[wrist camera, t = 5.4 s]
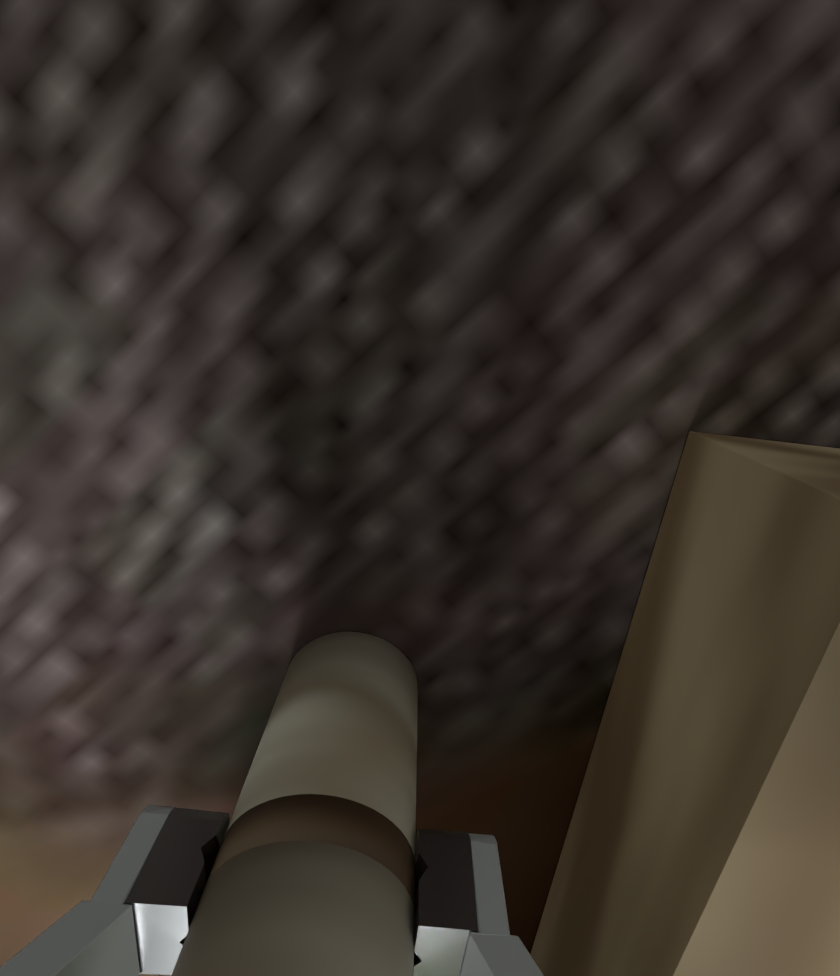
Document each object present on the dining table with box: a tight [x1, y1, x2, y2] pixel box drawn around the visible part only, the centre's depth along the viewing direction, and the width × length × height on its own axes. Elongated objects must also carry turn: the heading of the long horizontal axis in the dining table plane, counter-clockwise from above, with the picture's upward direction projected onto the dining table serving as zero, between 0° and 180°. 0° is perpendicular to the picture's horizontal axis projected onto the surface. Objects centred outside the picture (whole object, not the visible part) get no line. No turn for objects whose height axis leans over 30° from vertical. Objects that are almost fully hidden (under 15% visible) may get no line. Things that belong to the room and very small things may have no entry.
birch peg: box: [171, 632, 418, 976], centre depth 9 cm, size 4×4×10 cm
